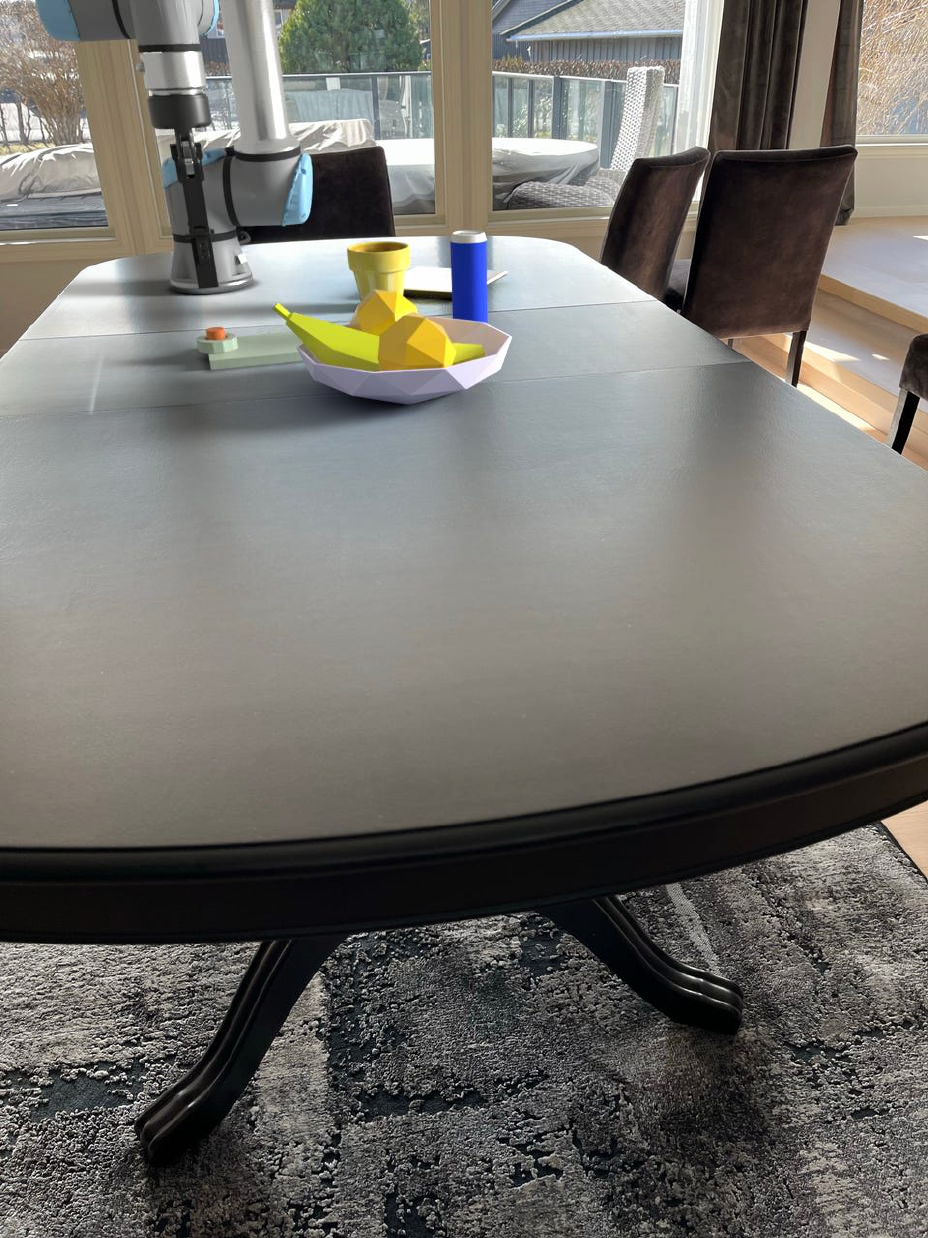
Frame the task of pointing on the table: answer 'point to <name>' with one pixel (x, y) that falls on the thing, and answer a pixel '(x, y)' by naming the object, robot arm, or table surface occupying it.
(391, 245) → the flower pot
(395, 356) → the fruit bowl
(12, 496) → the table surface
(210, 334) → the button
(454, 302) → the beverage can
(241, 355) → the pale green flat block
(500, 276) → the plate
